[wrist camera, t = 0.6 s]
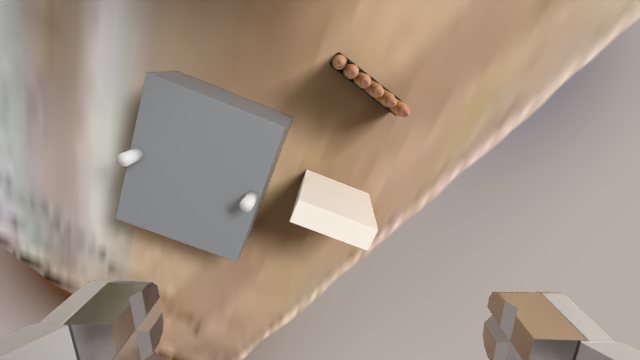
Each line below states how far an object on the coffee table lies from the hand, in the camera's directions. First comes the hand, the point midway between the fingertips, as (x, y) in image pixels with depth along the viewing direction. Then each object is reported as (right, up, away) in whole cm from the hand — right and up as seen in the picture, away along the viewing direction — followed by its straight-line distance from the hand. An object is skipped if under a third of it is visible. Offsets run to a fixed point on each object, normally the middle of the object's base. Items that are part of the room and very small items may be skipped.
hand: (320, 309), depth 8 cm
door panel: (+2, +2, +43) cm, 43 cm away
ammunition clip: (+6, +16, +38) cm, 42 cm away
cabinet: (-15, +6, +42) cm, 45 cm away
